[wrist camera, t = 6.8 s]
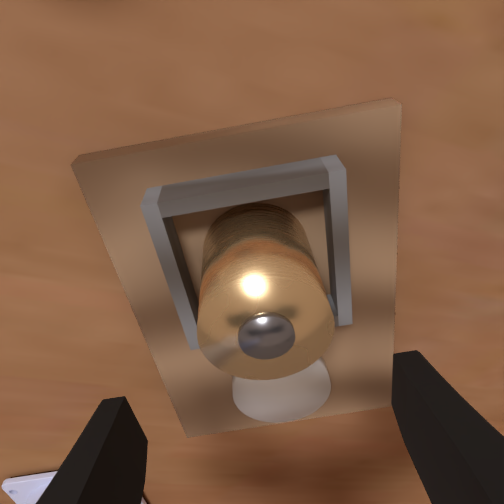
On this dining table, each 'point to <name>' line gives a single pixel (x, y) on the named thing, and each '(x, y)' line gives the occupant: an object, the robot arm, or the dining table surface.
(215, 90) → the dining table surface
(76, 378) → the dining table surface
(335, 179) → the carrier board
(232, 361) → the gold knobbed cylinder
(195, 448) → the dining table surface
